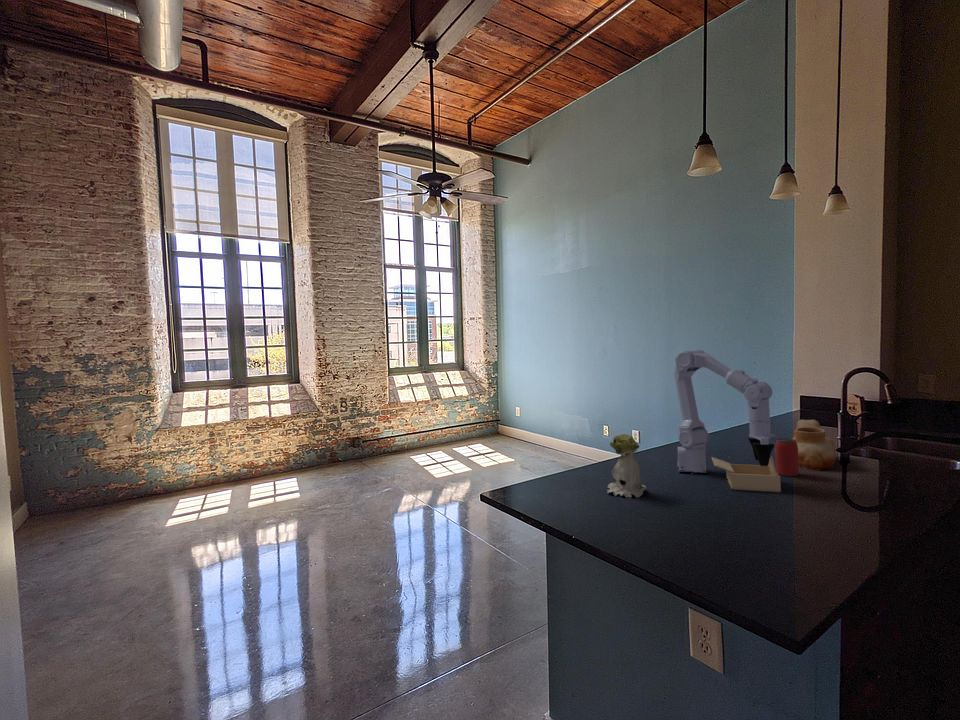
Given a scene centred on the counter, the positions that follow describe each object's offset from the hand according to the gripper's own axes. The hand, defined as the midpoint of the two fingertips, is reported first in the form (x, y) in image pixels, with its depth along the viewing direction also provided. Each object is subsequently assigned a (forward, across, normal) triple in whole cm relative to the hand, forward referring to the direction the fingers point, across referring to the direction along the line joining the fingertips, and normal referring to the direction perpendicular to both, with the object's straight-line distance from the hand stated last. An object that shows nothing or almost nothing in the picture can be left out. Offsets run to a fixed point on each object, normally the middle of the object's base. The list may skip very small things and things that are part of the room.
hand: (761, 462), depth 147 cm
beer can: (+8, +16, -10) cm, 21 cm away
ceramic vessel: (+8, +36, -22) cm, 43 cm away
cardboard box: (+7, 0, +3) cm, 8 cm away
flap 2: (-1, 0, -2) cm, 2 cm away
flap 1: (+1, 0, +11) cm, 11 cm away
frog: (+7, -16, +41) cm, 44 cm away
